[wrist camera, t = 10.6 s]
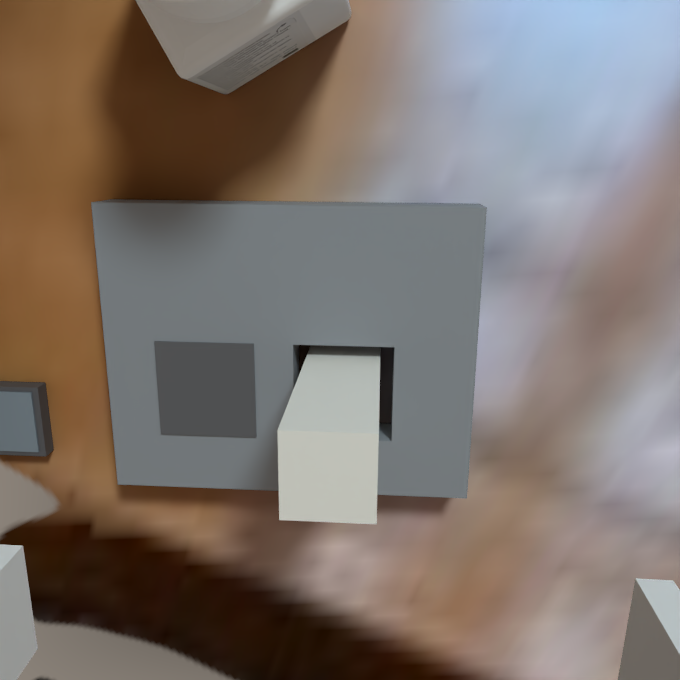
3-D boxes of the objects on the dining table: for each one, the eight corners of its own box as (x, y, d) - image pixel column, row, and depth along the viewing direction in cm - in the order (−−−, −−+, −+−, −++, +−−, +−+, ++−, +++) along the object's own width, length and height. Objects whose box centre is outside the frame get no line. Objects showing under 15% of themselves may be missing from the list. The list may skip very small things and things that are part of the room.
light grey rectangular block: (310, 345, 37) (277, 430, 26) (380, 347, 37) (378, 433, 25) (310, 410, 38) (279, 520, 27) (378, 412, 38) (376, 524, 26)
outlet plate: (111, 199, 36) (90, 202, 33) (479, 203, 34) (486, 207, 32) (133, 464, 40) (117, 485, 38) (461, 477, 39) (466, 499, 36)
